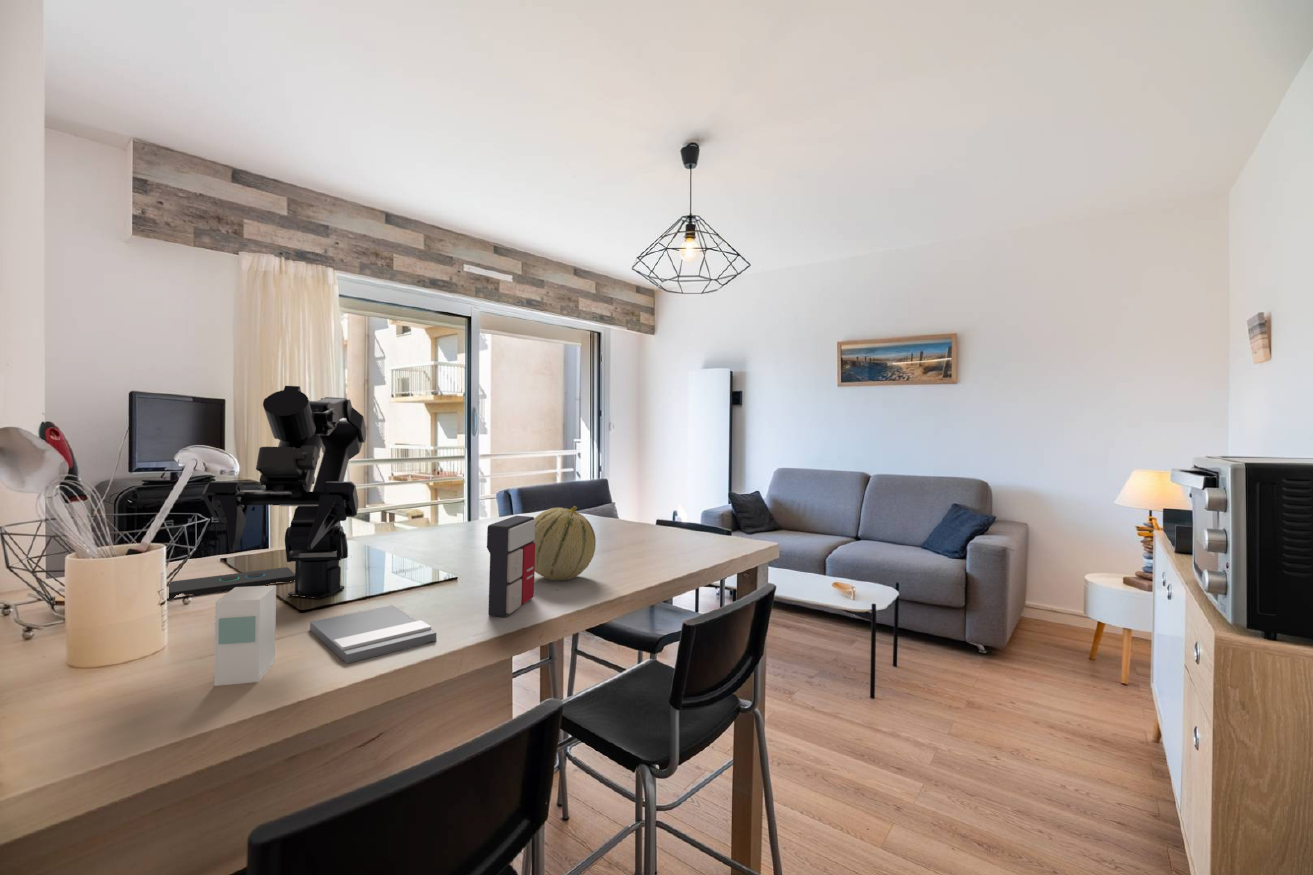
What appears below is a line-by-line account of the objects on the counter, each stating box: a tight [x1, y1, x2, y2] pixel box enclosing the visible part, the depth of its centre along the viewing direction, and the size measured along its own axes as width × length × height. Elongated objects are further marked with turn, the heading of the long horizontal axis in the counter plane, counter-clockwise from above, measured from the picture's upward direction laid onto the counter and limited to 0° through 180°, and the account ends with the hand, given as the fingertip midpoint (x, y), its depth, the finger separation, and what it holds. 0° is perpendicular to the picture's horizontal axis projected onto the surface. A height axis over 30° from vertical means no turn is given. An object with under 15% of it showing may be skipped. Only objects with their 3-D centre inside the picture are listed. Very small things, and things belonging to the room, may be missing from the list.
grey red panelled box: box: [486, 515, 536, 618], centre depth 100 cm, size 11×4×15 cm, turn 168°
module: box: [213, 584, 277, 687], centre depth 71 cm, size 6×4×10 cm
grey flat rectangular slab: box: [309, 604, 437, 664], centre depth 85 cm, size 12×16×2 cm
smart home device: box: [168, 566, 295, 600], centre depth 106 cm, size 8×2×20 cm
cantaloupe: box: [534, 505, 596, 581], centre depth 118 cm, size 15×15×15 cm
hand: (271, 548), depth 79 cm, fingers open, 9 cm apart
